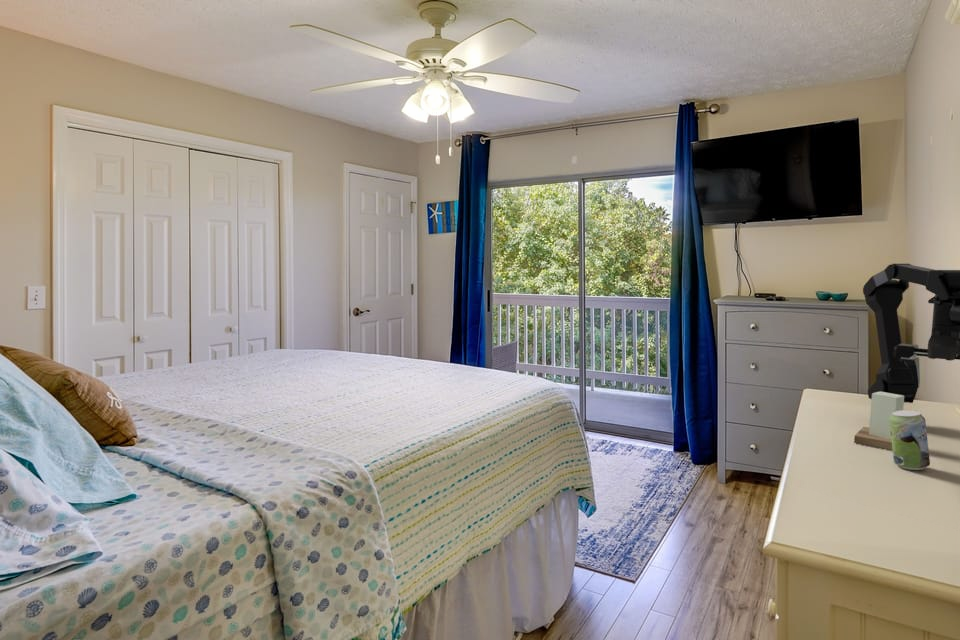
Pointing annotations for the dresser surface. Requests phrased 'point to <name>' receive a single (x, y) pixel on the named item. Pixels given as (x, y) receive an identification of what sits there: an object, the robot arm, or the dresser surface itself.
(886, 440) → the walnut block
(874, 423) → the sage block
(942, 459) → the dresser surface
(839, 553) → the dresser surface
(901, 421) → the beverage can
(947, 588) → the dresser surface
